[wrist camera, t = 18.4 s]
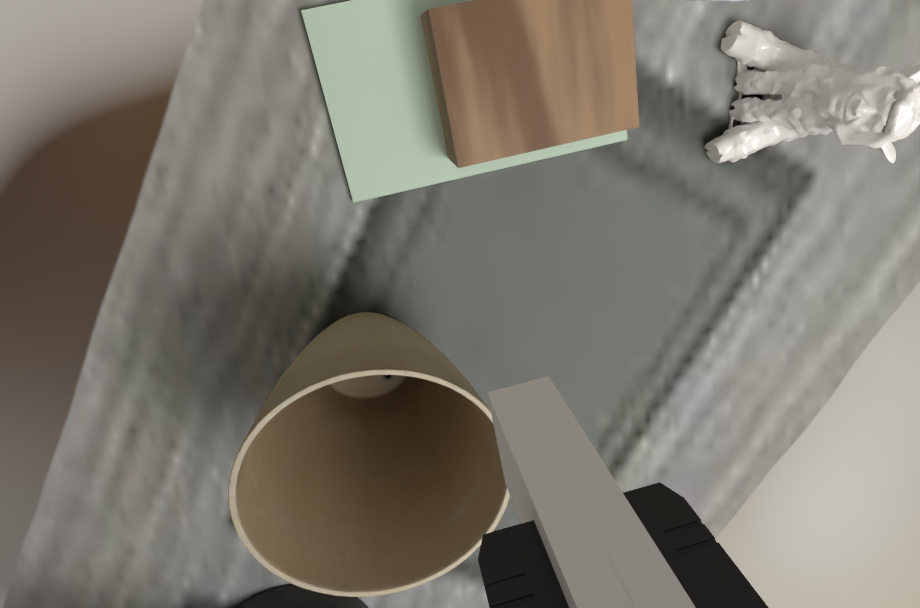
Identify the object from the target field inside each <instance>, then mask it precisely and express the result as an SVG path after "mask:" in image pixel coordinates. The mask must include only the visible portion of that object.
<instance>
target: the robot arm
mask: <svg viewBox="0 0 920 608" xmlns="http://www.w3.org/2000/svg"><path fill="white" fill-rule="evenodd" d="M487 394H488V399H489V404H490V409H491V414H492V419H493V424H494V429H495V434H496V439H497V444H498V449H499V454H500V459H501V464H502V469H503V474H504V479H505V483H506V486H507V489H508V491H509V494H510V497H511V499H512V502H513V505H514V508H515V510H516V513H517V516H518V518H519V521H520V524H518V525H515V526H511V527H508V528H504V529H501V530H497V531H494V532H490V533H487V534H483V537H482V542H481V547H480V552H479V557H478V562H479V566H480V570H481V574H482V578H483V582H484V586H485V590H486V594H487V598H488V603H489V607H490V608H768V606H767V605H766V604H765V603H764V601H763V600H762V599H761V598H760V596H759V595H758V593H757V592H756V591H755V590H754V588H753V587H752V586H751V584H750V583H749V582H748V581H747V579H746V578H745V577H744V575H743V574H742V573H741V571H740V570H739V569H738V567H737V566H736V565H735V564H734V562H733V561H732V560H731V558H730V557H729V556H728V554H727V553H726V552H725V551H724V549H723V548H722V547H721V545H720V544H719V543H717V542H716V541H715V538H714V536H713V535H712V534H711V532H710V531H709V530H708V528H707V527H706V526H705V525H704V524H702V522H701V519H700V518H699V517H698V515H697V514H696V513H695V512H694V510H693V509H692V508H691V506H690V505H689V504H688V502H687V501H686V500H685V499H684V498H683V497H682V496H680V495H679V494H677V493H675V492H674V491H672V490H671V489H669V488H668V487H666V486H665V485H663V484H661V483H656V484H653V485H649V486H646V487H642V488H639V489H635V490H632V491H628V492H625V493H623V492H622V491H621V489H620V488H619V486H618V485H617V483H616V481H615V480H614V478H613V477H612V475H611V474H610V472H609V470H608V469H607V467H606V466H605V464H604V463H603V461H602V459H601V458H600V456H599V455H598V453H597V452H596V450H595V448H594V447H593V445H592V444H591V442H590V441H589V439H588V437H587V436H586V434H585V433H584V431H583V430H582V428H581V426H580V425H579V423H578V422H577V420H576V419H575V417H574V415H573V414H572V412H571V411H570V409H569V407H568V406H567V404H566V403H565V401H564V400H563V398H562V396H561V395H560V393H559V392H558V390H557V389H556V387H555V385H554V384H553V382H552V381H551V379H550V378H549V376H548V377H544V378H540V379H537V380H533V381H529V382H525V383H521V384H518V385H514V386H510V387H506V388H502V389H499V390H495V391H491V392H487ZM237 608H368V607H367V606H366V605H365V604H364V603H363V602H361V601H360V600H359V599H357V598H356V597H348V596H335V595H329V594H324V593H319V592H315V591H311V590H308V589H304V588H301V587H299V586H296V585H291V586H284V587H279V588H275V589H272V590H269V591H266V592H263V593H260V594H258V595H256V596H254V597H252V598H250V599H248V600H247V601H245V602H243V603H242V604H241V605H239V606H238V607H237Z"/></svg>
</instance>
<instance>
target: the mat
mask: <svg viewBox="0 0 920 608" xmlns="http://www.w3.org/2000/svg"><path fill="white" fill-rule="evenodd" d="M467 1H472V0H351V1H346V2H341V3H335V4H330V5H325V6H320V7H315V8H310V9H305V10H301V12H302V15H303V19H304V23H305V26H306V30H307V34H308V37H309V41H310V45H311V48H312V52H313V56H314V60H315V63H316V67H317V71H318V74H319V78H320V82H321V85H322V89H323V93H324V96H325V100H326V104H327V107H328V111H329V115H330V118H331V122H332V126H333V130H334V133H335V137H336V141H337V144H338V148H339V152H340V155H341V159H342V163H343V166H344V170H345V174H346V177H347V181H348V185H349V188H350V192H351V196H352V200H353V203H354V202H359V201H363V200H367V199H372V198H376V197H380V196H385V195H389V194H393V193H398V192H402V191H406V190H411V189H415V188H419V187H424V186H428V185H433V184H437V183H441V182H446V181H450V180H454V179H459V178H463V177H467V176H472V175H476V174H480V173H485V172H489V171H493V170H498V169H502V168H507V167H511V166H515V165H520V164H524V163H528V162H533V161H537V160H541V159H546V158H550V157H554V156H559V155H563V154H567V153H572V152H576V151H581V150H585V149H589V148H594V147H598V146H602V145H607V144H611V143H615V142H620V141H624V140H627V130H624V131H619V132H615V133H611V134H606V135H602V136H597V137H593V138H589V139H584V140H580V141H576V142H571V143H567V144H562V145H558V146H554V147H549V148H545V149H541V150H536V151H532V152H527V153H523V154H519V155H514V156H510V157H506V158H501V159H497V160H492V161H488V162H484V163H479V164H475V165H470V166H466V167H462V168H458V167H457V166H456V165H455V164H454V163H453V162H452V161H450V160H449V159H448V154H447V149H446V144H445V139H444V133H443V128H442V123H441V118H440V113H439V108H438V103H437V98H436V92H435V87H434V82H433V77H432V72H431V67H430V62H429V57H428V51H427V46H426V41H425V36H424V31H423V26H422V21H421V16H420V14H422V13H423V12H425V11H427V10H428V9H432V8H437V7H442V6H447V5H452V4H457V3H462V2H467Z"/></svg>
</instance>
